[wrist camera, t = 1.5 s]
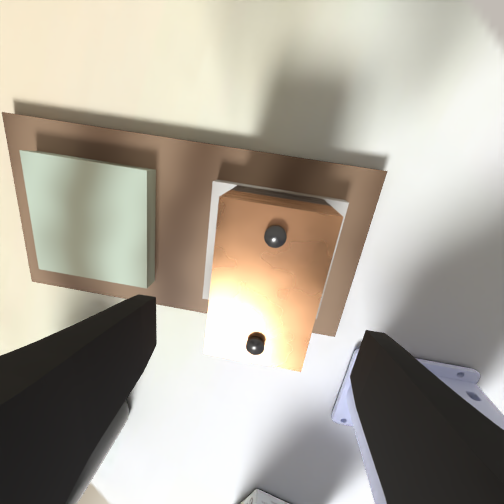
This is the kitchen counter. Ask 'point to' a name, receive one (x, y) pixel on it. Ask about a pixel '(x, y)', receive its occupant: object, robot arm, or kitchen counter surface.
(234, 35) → the kitchen counter surface
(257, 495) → the skincare box
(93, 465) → the supplement bottle
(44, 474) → the robot arm
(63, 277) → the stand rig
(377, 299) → the kitchen counter surface
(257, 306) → the plate
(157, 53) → the kitchen counter surface
